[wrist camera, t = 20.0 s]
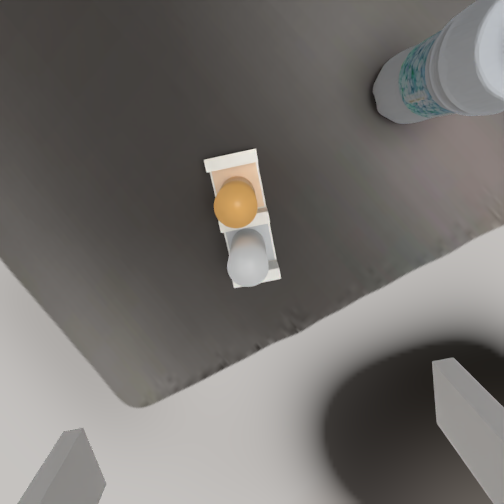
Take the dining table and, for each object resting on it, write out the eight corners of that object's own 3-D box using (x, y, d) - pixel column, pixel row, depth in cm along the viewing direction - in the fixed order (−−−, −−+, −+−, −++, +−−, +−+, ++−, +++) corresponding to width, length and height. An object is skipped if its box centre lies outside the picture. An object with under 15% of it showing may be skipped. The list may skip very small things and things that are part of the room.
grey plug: (231, 260, 39) (227, 286, 31) (231, 228, 38) (227, 246, 30) (264, 261, 39) (267, 287, 31) (265, 228, 38) (269, 247, 30)
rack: (206, 158, 36) (203, 159, 33) (254, 148, 36) (255, 148, 33) (234, 277, 40) (234, 288, 37) (278, 269, 40) (281, 278, 37)
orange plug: (232, 217, 38) (229, 236, 30) (213, 188, 37) (205, 200, 29) (261, 199, 37) (265, 213, 30) (242, 169, 36) (242, 176, 29)
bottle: (391, 141, 36) (558, 134, 17) (351, 88, 35) (485, 14, 16) (446, 94, 35) (691, 28, 16) (407, 37, 34) (625, -112, 14)
